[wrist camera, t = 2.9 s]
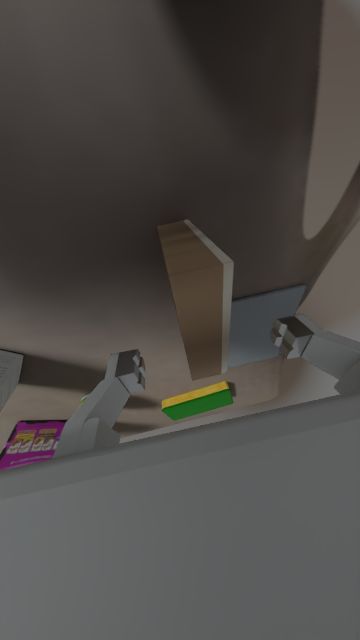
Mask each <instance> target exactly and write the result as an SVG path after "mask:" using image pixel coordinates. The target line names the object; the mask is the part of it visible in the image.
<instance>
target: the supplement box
mask: <svg viewBox="0 0 360 640" xmlns="http://www.w3.org/2000/svg"><path fill="white" fill-rule="evenodd" d="M23 357H24V356H23V355H20V354H16V353H11V352H7V351H2V350H0V411H1V410H2V408H3V406H4V405H5V403H6V402H7V400H8V399H9V397H10V396H11V394H12V393H13V391H14V389H15V388H16V386H17V385H18V381H19V377H20V372H21V367H22V362H23Z"/></svg>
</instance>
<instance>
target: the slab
mask: <svg viewBox="0 0 360 640" xmlns="http://www.w3.org/2000/svg"><path fill="white" fill-rule="evenodd" d="M157 228H158V233H159V237H160V242H161V246H162V250H163V255H164V259H165V263H166V268H167V272H168V277H169V281H170V285H171V290H172V294H173V299H174V303H175V307H176V312H177V316H178V320H179V325H180V329H181V333H182V338H183V342H184V347H185V351H186V355H187V360H188V364H189V368H190V373H191V377H192V380H197V379H201V378H205V377H210V376H214V375H218V374H223V373H227V364H228V349H229V333H230V317H231V301H232V286H233V270H234V262H233V261H232V260H231V259H230V258H229V257H228V256H227V255H226V254H225V253H224V252H223V251H222V250H221V249H219V248H218V247H217V246H216V245H215V244H214V243H213V242H212V241H211V240H210V239H209V238H208V237H206V236H205V235H204V234H203V233H202V232H201V231H200V230H199V229H198V228H197V227H196V226H195V225H193V224H192V223H191V222H190V221H189V220H188V219H187V220H182V221H178V222H173V223H169V224H164V225H160V226H157Z"/></svg>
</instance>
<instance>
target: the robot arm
mask: <svg viewBox="0 0 360 640" xmlns="http://www.w3.org/2000/svg"><path fill="white" fill-rule="evenodd" d="M272 325H273V326H274V327H273V328H272V329H271V330H270V339H271V341H272V342H273V344H274V345H276V346H278V347H279V351H280V352H281V354H282V355H283V356H284V357H285V358H286V359H291V358H296V357H302V358H303V359H305V360H306V361H308V362H310V363H311V364H313V365H315V366H316V367H318V368H320V369H322V370H323V371H325V372H327V373H329V374H330V375H332V376H334V377H335V378H337V379H339V381H338V382H337V384H336V385H335V387H334V388H335V389H336V390H337V391H338V392H339V394H340V395H336V396H331V397H327V398H323V399H318V400H314V401H309V402H305V403H300V404H296V405H291V406H287V407H283V408H278V409H273V410H269V411H264V412H260V413H255V414H251V415H246V416H242V417H238V418H233V419H228V420H225V421H220V422H215V423H210V424H206V425H201V426H197V427H193V428H188V429H184V430H179V431H174V432H170V433H166V434H161V435H157V436H152V437H148V438H143V439H139V440H134V441H130V442H125V443H121V444H119V442H120V435H119V434H118V433H117V432H116V431H114V430H113V429H112V427H113V425H114V423H115V422H116V420H117V418H118V416H119V414H120V413H121V411H122V409H123V407H124V405H125V404H126V402H127V400H128V398H129V396H130V394H132V393H136V392H140V391H144V390H145V379H144V377H143V375H144V374H145V363H144V360H143V358H142V357H140V352H139V350H138V349H135V350H130V351H125V352H120V353H115V354H111V356H110V358H109V362H108V366H107V370H106V375H105V379H104V380H102V381H101V382H100V383H99V384H98V385H97V386H96V388H95V389H94V390H93V391H92V392H91V394H90V395H89V396H88V397H87V398H86V399H85V401H84V402H83V403H82V404H81V405H80V407H79V408H78V409H77V410H76V411H75V412H74V414H73V415H72V416H71V417H70V418H69V419H68V421H67V422H66V423H65V426H64V428H63V431H62V434H61V437H60V439H59V442H58V445H57V448H56V450H55V453H54V456H53V459H49V460H45V461H40V462H36V463H31V464H27V465H22V466H18V467H13V468H9V469H5V470H0V640H360V342H357V341H354V340H351V339H348V338H345V337H342V336H339V335H337V334H333V333H331V332H324V331H323V330H322V329H321V328H320V327H318V326H317V325H316V324H315V323H313V322H312V321H311V320H310V319H308V318H307V317H306V316H305V315H303V314H297V315H292V316H288V317H283V318H279V319H275V320H274V321H273V323H272Z"/></svg>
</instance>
